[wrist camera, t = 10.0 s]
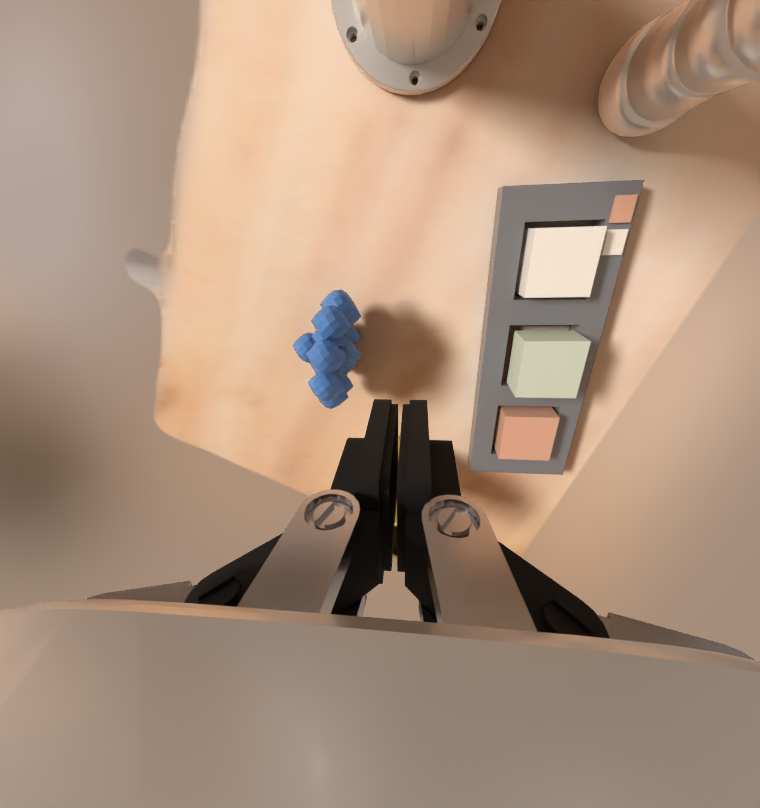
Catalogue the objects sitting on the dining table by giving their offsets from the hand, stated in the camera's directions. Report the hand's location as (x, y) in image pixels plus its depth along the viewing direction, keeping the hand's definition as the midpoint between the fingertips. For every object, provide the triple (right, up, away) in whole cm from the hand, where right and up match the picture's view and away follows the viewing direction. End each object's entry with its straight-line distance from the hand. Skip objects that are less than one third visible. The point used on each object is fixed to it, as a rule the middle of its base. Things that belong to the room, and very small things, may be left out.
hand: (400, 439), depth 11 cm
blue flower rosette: (-5, +9, +27) cm, 29 cm away
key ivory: (+16, +15, +21) cm, 30 cm away
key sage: (+16, +6, +24) cm, 29 cm away
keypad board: (+16, +7, +25) cm, 31 cm away
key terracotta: (+16, -1, +30) cm, 34 cm away
